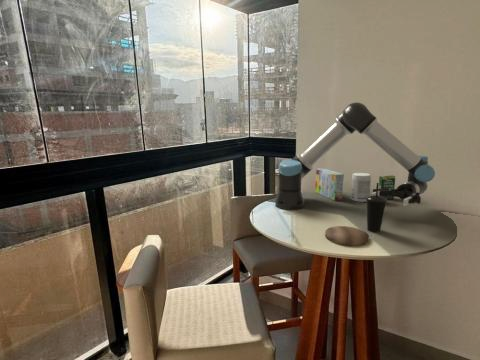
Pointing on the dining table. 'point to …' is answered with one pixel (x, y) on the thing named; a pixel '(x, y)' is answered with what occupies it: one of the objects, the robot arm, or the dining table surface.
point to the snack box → (329, 184)
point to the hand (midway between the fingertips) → (387, 199)
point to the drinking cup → (375, 211)
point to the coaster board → (346, 236)
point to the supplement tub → (360, 186)
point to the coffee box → (387, 184)
